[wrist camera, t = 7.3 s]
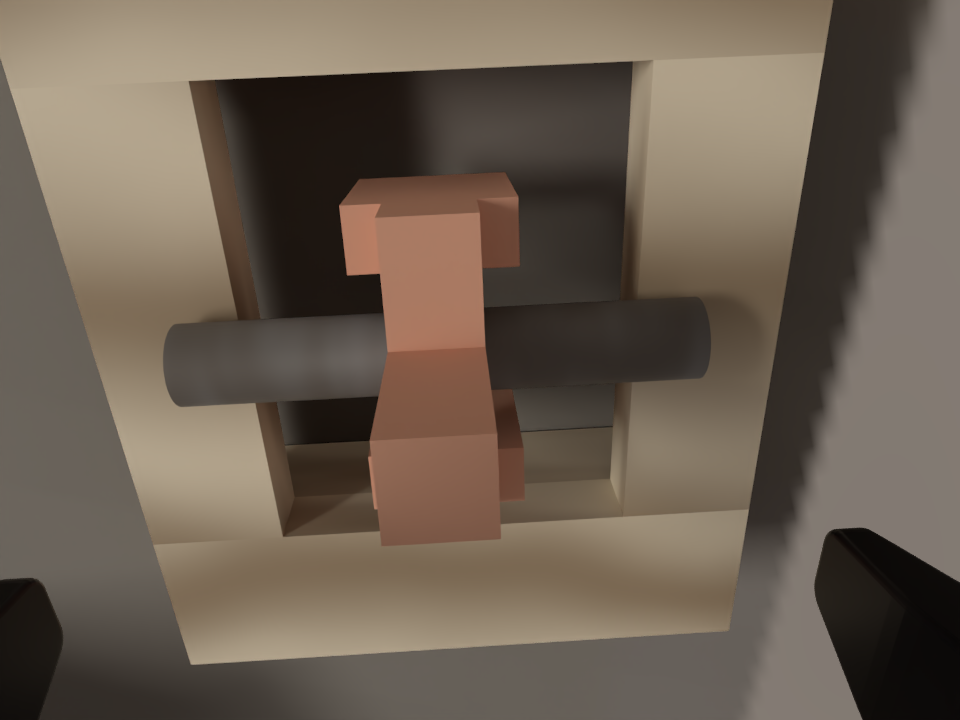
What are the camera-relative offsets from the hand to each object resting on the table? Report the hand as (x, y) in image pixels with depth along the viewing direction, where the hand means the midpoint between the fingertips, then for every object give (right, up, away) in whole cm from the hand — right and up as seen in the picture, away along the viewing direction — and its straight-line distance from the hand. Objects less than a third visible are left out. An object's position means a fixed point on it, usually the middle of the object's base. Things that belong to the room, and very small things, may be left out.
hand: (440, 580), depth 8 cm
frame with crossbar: (-1, +5, +10) cm, 11 cm away
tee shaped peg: (0, +4, +8) cm, 9 cm away
